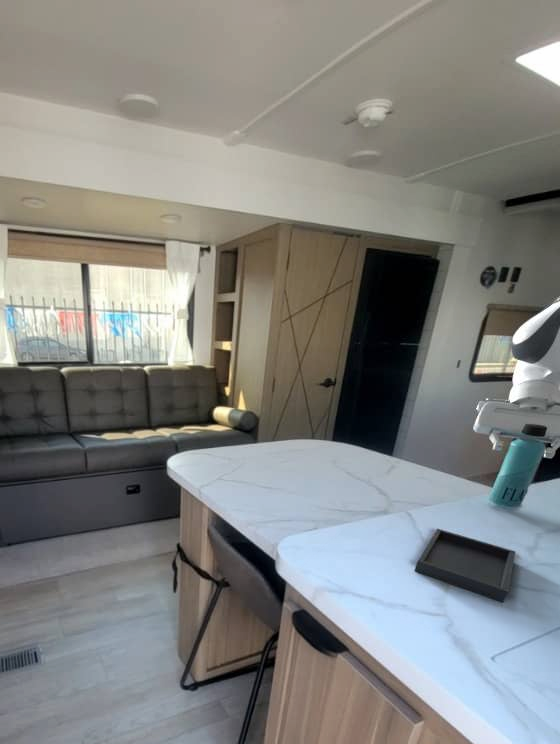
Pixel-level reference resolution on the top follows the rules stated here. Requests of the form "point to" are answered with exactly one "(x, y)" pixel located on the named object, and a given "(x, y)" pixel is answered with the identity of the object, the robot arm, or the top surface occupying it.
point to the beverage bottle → (519, 468)
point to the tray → (468, 564)
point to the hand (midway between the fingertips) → (522, 452)
